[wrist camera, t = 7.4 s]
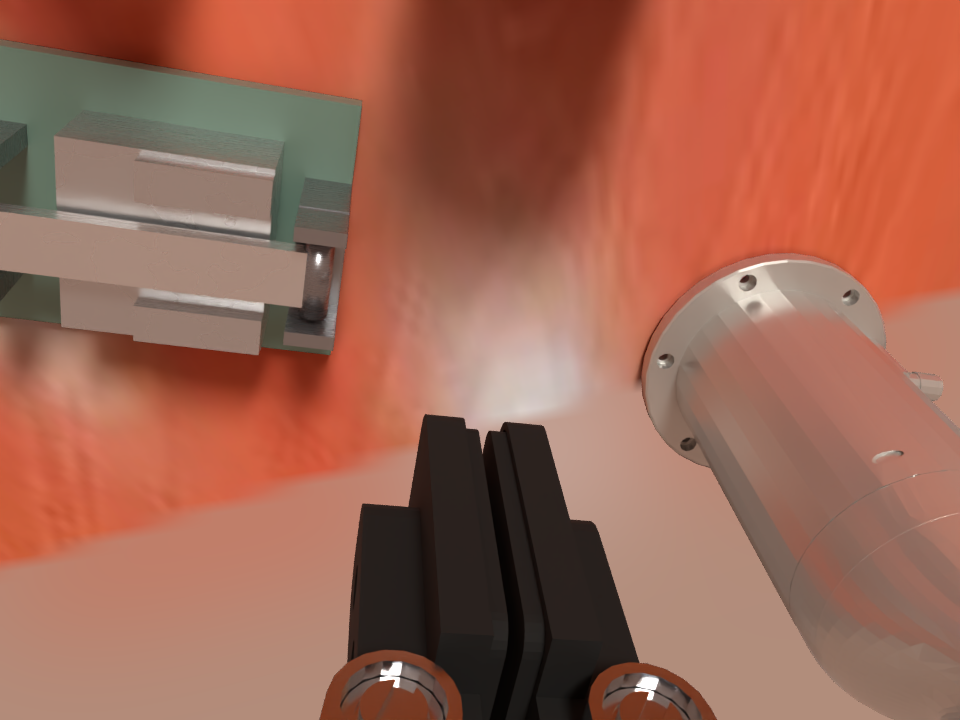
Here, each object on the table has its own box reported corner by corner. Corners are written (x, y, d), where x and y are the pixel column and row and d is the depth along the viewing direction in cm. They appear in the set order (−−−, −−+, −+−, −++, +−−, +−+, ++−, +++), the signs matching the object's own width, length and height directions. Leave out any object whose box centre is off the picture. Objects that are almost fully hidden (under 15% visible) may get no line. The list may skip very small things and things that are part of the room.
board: (362, 100, 38) (361, 106, 37) (331, 344, 43) (330, 355, 42) (-45, 31, 35) (-56, 36, 34) (-21, 303, 40) (-30, 312, 40)
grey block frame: (355, 153, 38) (352, 198, 33) (334, 318, 42) (329, 380, 37) (-18, 93, 35) (-83, 133, 30) (-4, 276, 39) (-60, 337, 34)
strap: (336, 238, 35) (335, 249, 34) (327, 308, 37) (326, 322, 36) (-30, 186, 33) (-44, 197, 32) (-24, 264, 34) (-36, 277, 33)
